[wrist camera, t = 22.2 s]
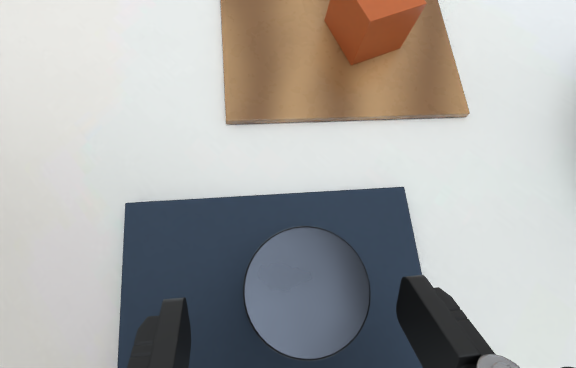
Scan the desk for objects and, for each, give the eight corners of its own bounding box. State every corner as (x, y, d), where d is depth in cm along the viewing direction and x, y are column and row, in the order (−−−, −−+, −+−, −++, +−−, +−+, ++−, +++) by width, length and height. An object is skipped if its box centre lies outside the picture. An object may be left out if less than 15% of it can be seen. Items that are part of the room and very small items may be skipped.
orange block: (350, 65, 30) (370, 21, 26) (323, 20, 32) (337, -30, 27) (400, 48, 32) (427, 3, 27) (372, 5, 33) (393, -46, 28)
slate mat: (117, 440, 21) (113, 444, 20) (127, 205, 25) (125, 202, 25) (442, 394, 23) (447, 396, 23) (401, 188, 28) (404, 186, 27)
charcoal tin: (246, 341, 23) (246, 369, 12) (242, 263, 24) (239, 229, 14) (321, 333, 23) (381, 352, 13) (312, 257, 25) (360, 221, 14)
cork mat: (226, 124, 28) (226, 120, 27) (220, -16, 32) (219, -22, 32) (465, 117, 31) (470, 113, 30) (430, -12, 35) (433, -17, 34)
